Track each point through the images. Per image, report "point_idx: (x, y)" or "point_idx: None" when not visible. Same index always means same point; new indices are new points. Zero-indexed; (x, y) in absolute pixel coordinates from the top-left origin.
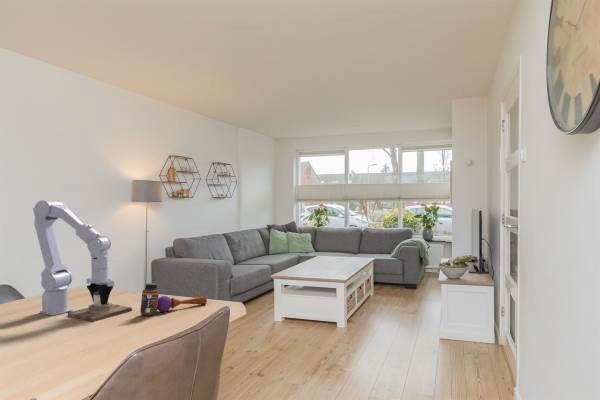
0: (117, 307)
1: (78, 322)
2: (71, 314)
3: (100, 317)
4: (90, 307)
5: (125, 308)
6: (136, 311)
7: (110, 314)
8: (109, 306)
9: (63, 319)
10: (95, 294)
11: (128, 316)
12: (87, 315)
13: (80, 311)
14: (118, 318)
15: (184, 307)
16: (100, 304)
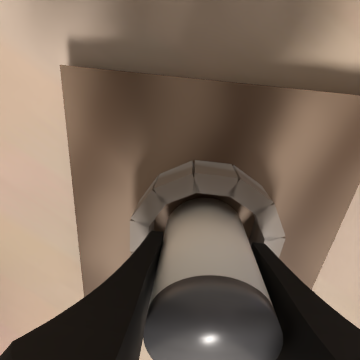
0: None
1: (149, 6)
2: (340, 94)
3: (71, 123)
4: (215, 174)
5: (98, 282)
6: (61, 283)
7: (76, 189)
8: (132, 248)
9: (338, 13)
10: (203, 283)
11: (7, 217)
12: (169, 103)
13: (314, 159)
14: (12, 176)
15: None
16: (168, 230)
